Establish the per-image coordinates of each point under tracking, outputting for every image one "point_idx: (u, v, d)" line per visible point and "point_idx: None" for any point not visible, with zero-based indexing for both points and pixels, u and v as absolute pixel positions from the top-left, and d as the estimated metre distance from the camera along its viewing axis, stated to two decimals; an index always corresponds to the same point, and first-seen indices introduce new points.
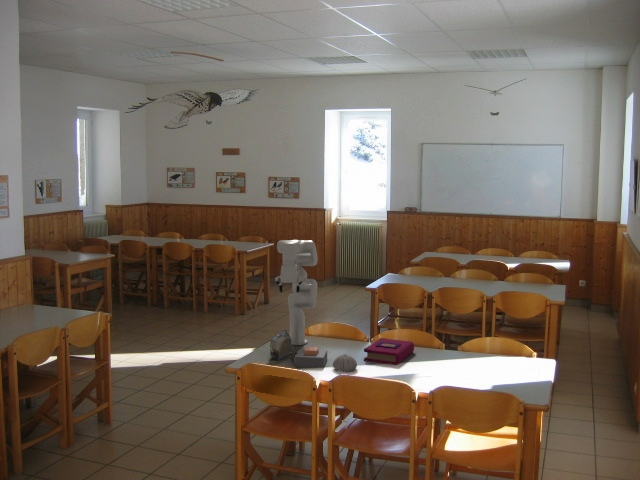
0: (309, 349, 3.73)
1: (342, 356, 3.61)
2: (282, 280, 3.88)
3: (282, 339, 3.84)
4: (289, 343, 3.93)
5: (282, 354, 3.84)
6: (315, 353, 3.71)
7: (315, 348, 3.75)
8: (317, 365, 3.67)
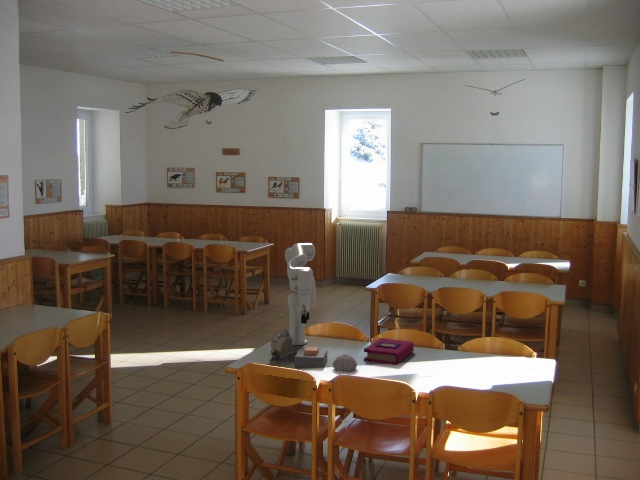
0: (309, 349, 3.73)
1: (342, 356, 3.61)
2: (307, 310, 3.70)
3: (283, 339, 3.84)
4: (290, 343, 3.93)
5: (283, 354, 3.84)
6: (315, 353, 3.71)
7: (315, 348, 3.75)
8: (317, 365, 3.67)
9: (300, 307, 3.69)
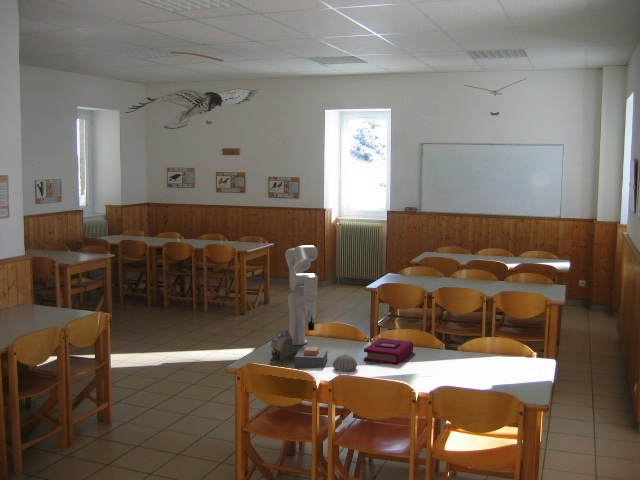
0: (309, 349, 3.73)
1: (342, 356, 3.61)
2: (313, 316, 3.68)
3: (283, 339, 3.84)
4: (290, 343, 3.93)
5: (283, 354, 3.84)
6: (315, 353, 3.71)
7: (315, 348, 3.75)
8: (317, 365, 3.67)
9: (306, 313, 3.67)
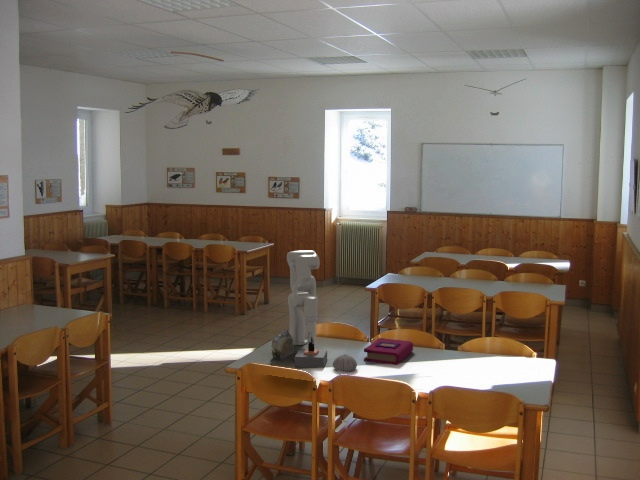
0: (309, 351, 3.73)
1: (342, 356, 3.61)
2: (313, 337, 3.70)
3: (284, 339, 3.84)
4: (291, 343, 3.92)
5: (284, 354, 3.84)
6: None
7: (315, 350, 3.75)
8: (317, 365, 3.67)
9: (306, 335, 3.69)
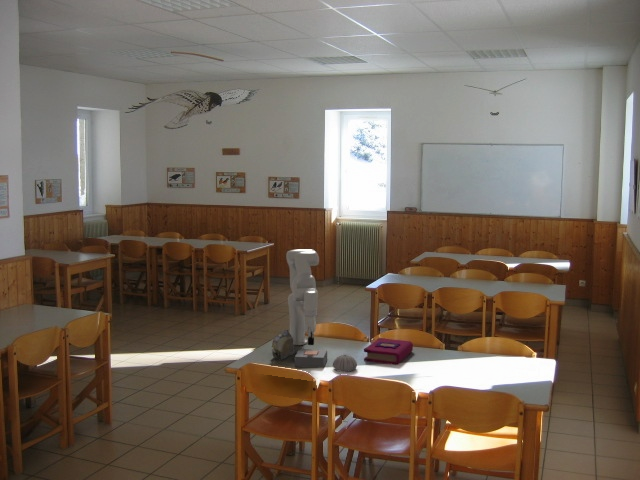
0: (309, 353, 3.74)
1: (342, 356, 3.61)
2: (313, 331, 3.70)
3: (284, 339, 3.84)
4: (291, 343, 3.92)
5: (284, 354, 3.84)
6: None
7: (315, 352, 3.75)
8: (317, 365, 3.67)
9: (306, 329, 3.69)
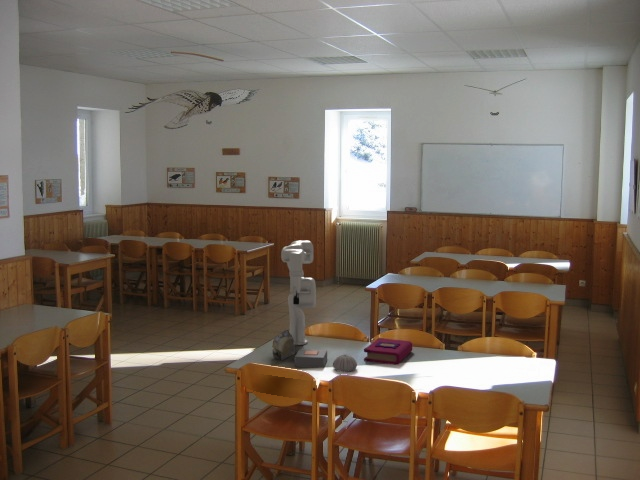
0: (309, 353, 3.74)
1: (342, 356, 3.61)
2: (298, 291, 3.82)
3: (285, 339, 3.84)
4: (291, 343, 3.92)
5: (285, 354, 3.83)
6: None
7: (315, 352, 3.75)
8: (317, 365, 3.67)
9: (291, 288, 3.81)
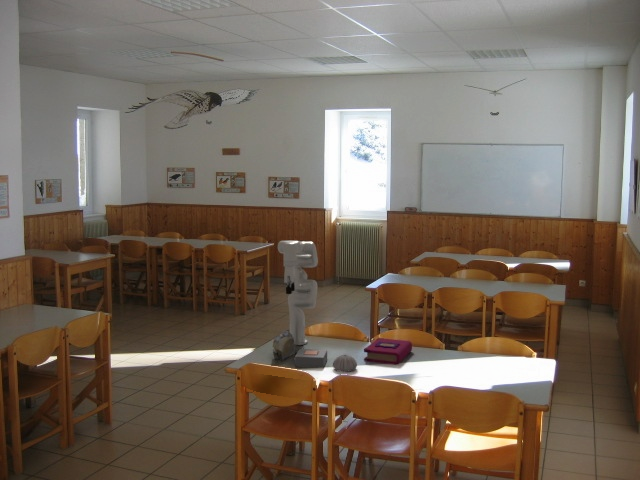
0: (309, 353, 3.74)
1: (342, 356, 3.61)
2: (292, 281, 3.88)
3: (285, 339, 3.83)
4: (292, 343, 3.92)
5: (285, 354, 3.83)
6: None
7: (315, 352, 3.75)
8: (317, 365, 3.67)
9: (285, 278, 3.87)
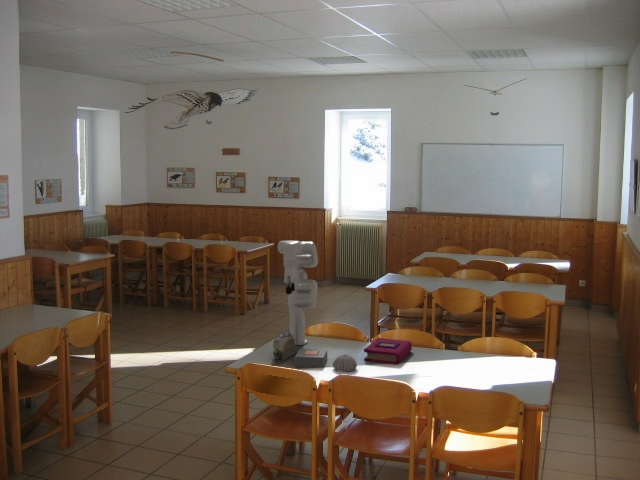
0: (309, 353, 3.74)
1: (342, 356, 3.61)
2: (292, 281, 3.88)
3: (285, 339, 3.83)
4: (292, 343, 3.92)
5: (285, 354, 3.83)
6: None
7: (315, 352, 3.75)
8: (317, 365, 3.67)
9: (285, 278, 3.87)
